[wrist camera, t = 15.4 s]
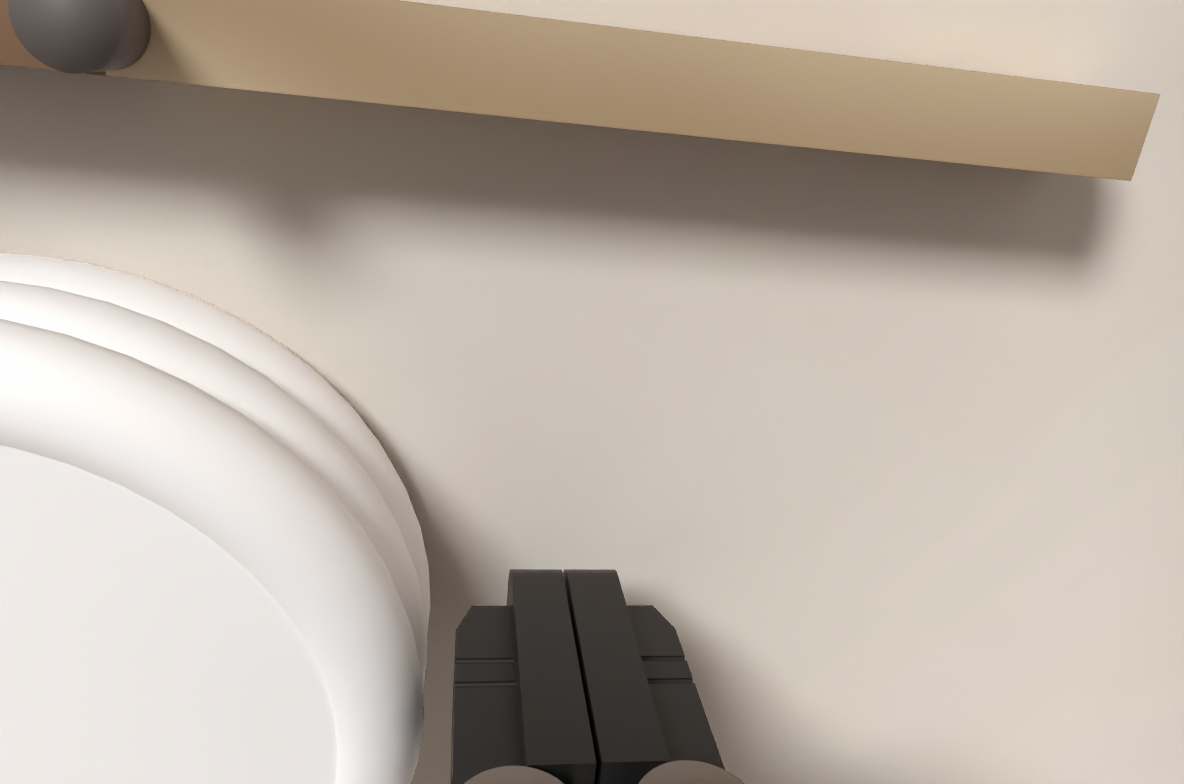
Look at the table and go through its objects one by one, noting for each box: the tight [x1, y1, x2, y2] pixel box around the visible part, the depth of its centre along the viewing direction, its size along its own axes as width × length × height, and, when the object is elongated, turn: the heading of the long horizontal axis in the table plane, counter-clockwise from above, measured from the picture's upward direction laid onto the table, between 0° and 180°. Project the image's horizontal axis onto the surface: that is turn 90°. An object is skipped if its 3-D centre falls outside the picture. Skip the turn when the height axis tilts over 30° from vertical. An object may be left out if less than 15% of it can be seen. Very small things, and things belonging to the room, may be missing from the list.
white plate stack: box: [0, 253, 431, 784], centre depth 11 cm, size 10×10×4 cm
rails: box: [0, 0, 1160, 181], centre depth 11 cm, size 15×24×2 cm, turn 85°
